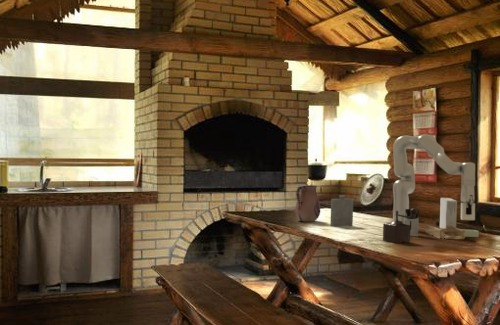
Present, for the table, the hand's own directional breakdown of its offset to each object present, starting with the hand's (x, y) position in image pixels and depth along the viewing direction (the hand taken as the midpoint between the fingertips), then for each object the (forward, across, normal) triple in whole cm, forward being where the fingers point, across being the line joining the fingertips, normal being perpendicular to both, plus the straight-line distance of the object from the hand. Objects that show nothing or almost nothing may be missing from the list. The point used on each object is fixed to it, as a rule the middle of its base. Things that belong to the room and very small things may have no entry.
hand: (467, 214), depth 336 cm
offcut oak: (+13, +7, -14) cm, 21 cm away
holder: (+13, 0, 0) cm, 13 cm away
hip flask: (+12, -34, -70) cm, 78 cm away
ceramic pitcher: (+11, -54, -90) cm, 106 cm away
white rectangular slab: (+3, 0, 0) cm, 3 cm away
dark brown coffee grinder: (+13, +33, -48) cm, 60 cm away
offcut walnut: (+11, +7, -14) cm, 19 cm away
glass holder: (+13, +6, -36) cm, 39 cm away
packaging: (+13, -27, -2) cm, 30 cm away
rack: (+13, +3, -14) cm, 20 cm away
